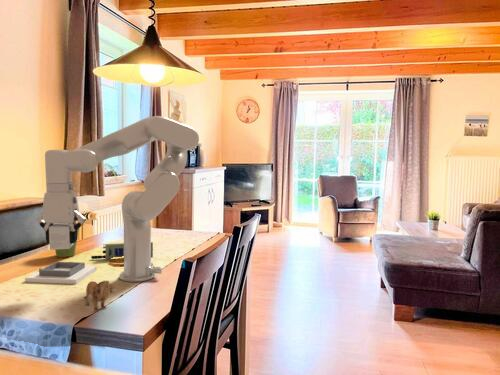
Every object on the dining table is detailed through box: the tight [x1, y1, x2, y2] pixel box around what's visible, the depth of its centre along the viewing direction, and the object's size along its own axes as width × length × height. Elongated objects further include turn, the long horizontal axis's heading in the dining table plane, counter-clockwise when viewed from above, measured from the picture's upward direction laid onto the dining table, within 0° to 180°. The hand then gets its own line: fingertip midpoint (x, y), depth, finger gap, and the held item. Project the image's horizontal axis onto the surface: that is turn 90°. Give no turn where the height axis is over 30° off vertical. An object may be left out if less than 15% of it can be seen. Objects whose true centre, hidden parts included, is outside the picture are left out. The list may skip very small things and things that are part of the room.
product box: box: [48, 224, 74, 251], centre depth 125 cm, size 6×6×7 cm
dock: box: [24, 261, 98, 285], centre depth 140 cm, size 18×16×4 cm
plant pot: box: [54, 228, 81, 259], centre depth 166 cm, size 12×12×11 cm
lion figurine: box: [83, 280, 116, 313], centre depth 113 cm, size 15×5×9 cm, turn 51°
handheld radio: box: [91, 241, 154, 261], centre depth 165 cm, size 7×3×25 cm
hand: (61, 242), depth 125 cm, fingers closed on product box, 7 cm apart
